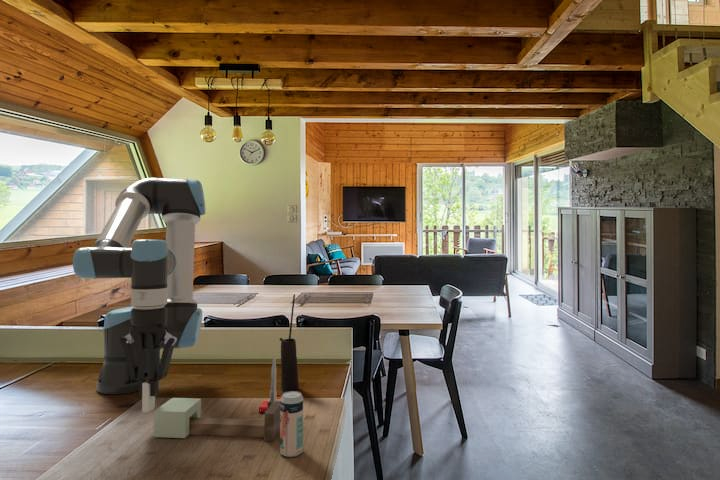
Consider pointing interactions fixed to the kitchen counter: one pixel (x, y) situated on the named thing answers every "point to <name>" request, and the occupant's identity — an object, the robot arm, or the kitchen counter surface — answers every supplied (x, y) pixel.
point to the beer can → (291, 424)
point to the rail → (240, 425)
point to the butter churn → (289, 361)
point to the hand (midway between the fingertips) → (148, 409)
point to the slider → (176, 417)
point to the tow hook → (273, 389)
